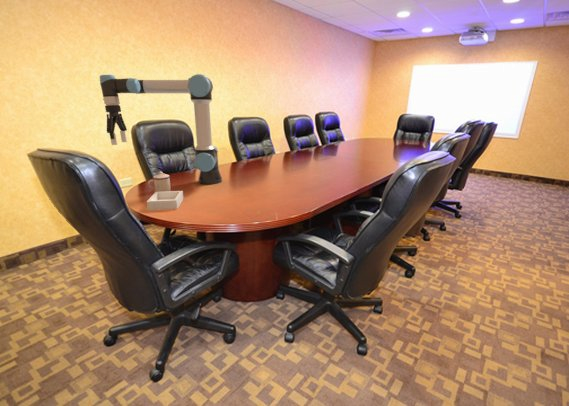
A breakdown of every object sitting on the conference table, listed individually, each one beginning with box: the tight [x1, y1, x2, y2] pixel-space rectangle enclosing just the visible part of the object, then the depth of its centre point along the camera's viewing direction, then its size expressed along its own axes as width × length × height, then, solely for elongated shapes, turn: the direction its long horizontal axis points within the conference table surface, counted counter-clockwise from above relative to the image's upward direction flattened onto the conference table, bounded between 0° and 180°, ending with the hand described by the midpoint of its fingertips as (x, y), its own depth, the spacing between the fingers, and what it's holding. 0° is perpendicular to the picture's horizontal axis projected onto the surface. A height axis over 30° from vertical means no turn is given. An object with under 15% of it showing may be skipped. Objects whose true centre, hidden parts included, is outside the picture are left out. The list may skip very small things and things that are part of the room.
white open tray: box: [146, 190, 184, 211], centre depth 160 cm, size 14×17×4 cm
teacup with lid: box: [148, 171, 172, 192], centre depth 181 cm, size 12×9×12 cm
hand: (119, 143), depth 179 cm, fingers open, 13 cm apart
